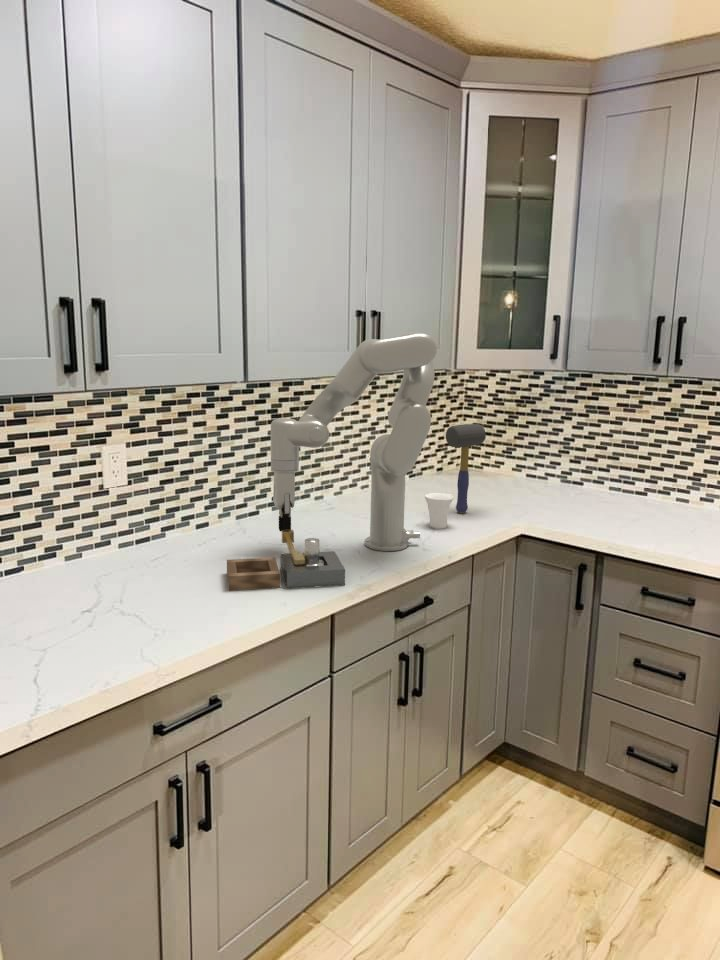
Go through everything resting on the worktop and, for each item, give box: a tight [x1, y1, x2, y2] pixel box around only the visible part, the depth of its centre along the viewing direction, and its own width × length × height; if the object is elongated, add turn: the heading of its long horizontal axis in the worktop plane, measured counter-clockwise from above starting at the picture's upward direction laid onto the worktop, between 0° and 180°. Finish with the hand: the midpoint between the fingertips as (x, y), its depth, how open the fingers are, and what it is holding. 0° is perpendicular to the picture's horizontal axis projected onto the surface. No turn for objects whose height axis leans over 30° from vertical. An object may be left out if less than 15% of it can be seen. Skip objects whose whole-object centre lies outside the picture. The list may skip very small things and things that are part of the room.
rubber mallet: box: [445, 423, 487, 514], centre depth 236 cm, size 12×8×30 cm, turn 123°
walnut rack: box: [226, 556, 281, 592], centre depth 174 cm, size 12×12×4 cm
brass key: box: [281, 528, 305, 565], centre depth 182 cm, size 3×20×3 cm, turn 13°
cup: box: [424, 492, 454, 530], centre depth 222 cm, size 9×9×10 cm
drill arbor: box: [300, 537, 324, 567], centre depth 176 cm, size 6×6×10 cm
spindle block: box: [279, 550, 346, 590], centre depth 177 cm, size 14×14×4 cm
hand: (284, 530), depth 196 cm, fingers closed
